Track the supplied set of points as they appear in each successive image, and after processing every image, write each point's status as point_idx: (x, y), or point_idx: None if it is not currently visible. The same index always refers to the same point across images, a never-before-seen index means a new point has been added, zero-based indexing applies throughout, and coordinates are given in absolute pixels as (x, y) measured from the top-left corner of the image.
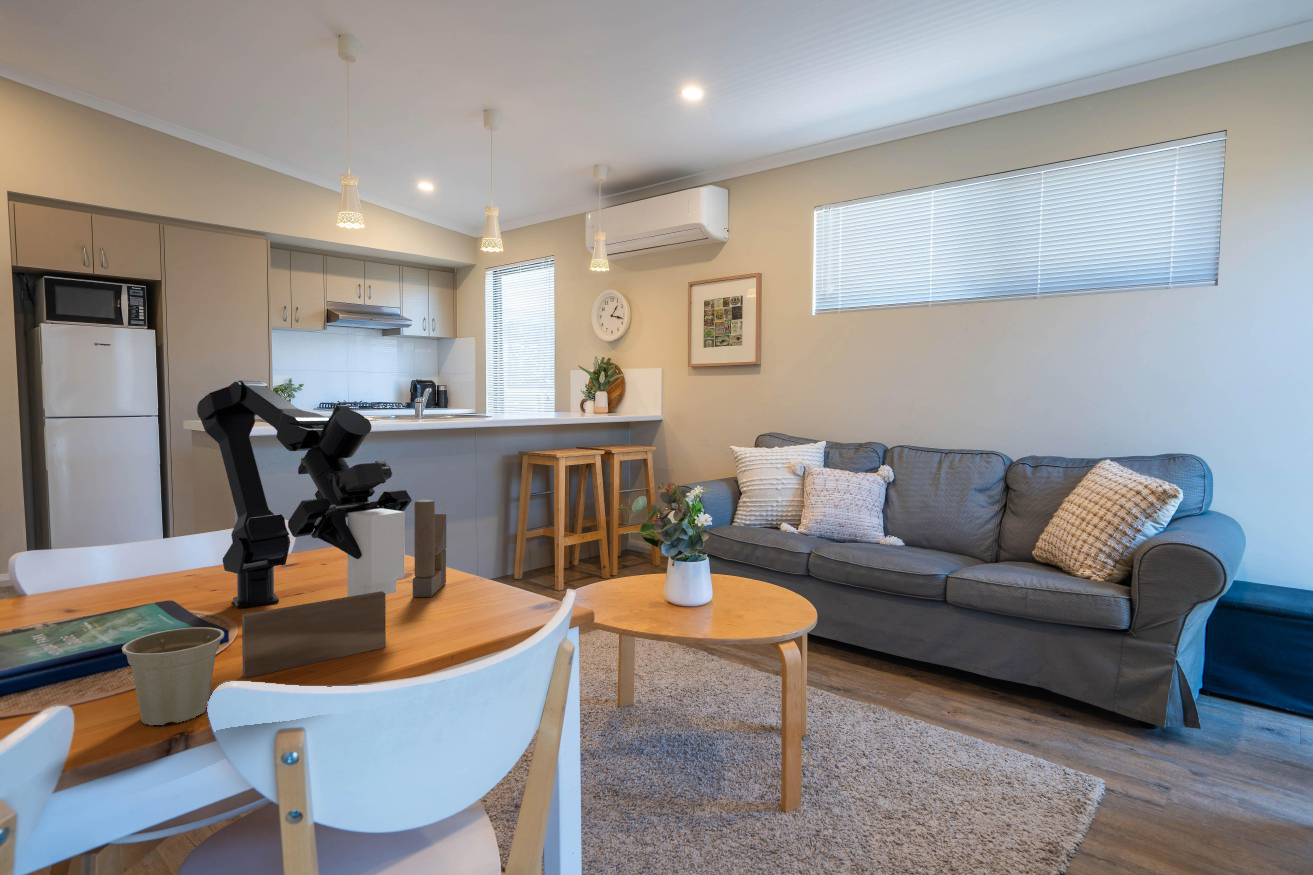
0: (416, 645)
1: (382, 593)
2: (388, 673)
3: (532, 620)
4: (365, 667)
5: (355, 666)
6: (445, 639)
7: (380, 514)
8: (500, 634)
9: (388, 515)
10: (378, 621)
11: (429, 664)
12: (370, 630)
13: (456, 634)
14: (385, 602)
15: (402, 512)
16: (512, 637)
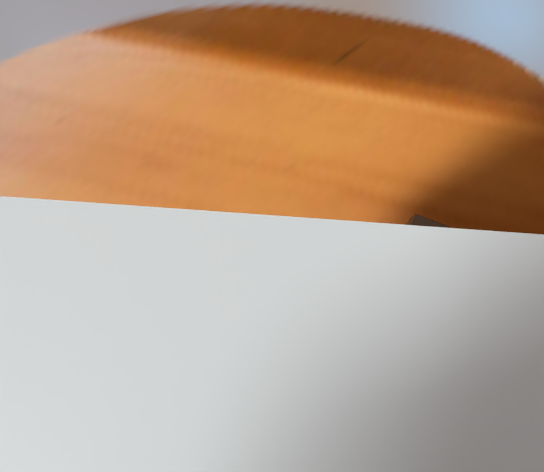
0: (325, 190)
1: (423, 223)
2: (504, 104)
3: (30, 68)
4: (509, 181)
5: (520, 208)
6: (252, 158)
7: (477, 323)
8: (159, 66)
9: (344, 230)
10: None
11: (409, 66)
12: None
13: (207, 161)
14: (405, 224)
15: (31, 201)
16: (166, 28)
